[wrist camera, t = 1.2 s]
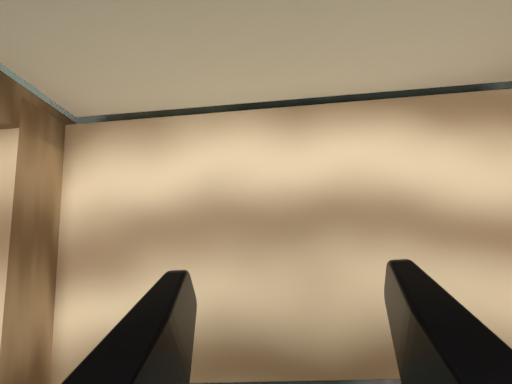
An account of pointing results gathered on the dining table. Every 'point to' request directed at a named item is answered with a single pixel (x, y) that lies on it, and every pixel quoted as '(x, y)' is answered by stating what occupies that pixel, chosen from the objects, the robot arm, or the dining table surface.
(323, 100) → the dining table surface
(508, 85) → the dining table surface
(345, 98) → the dining table surface
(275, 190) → the cart bed
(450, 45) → the tailgate
